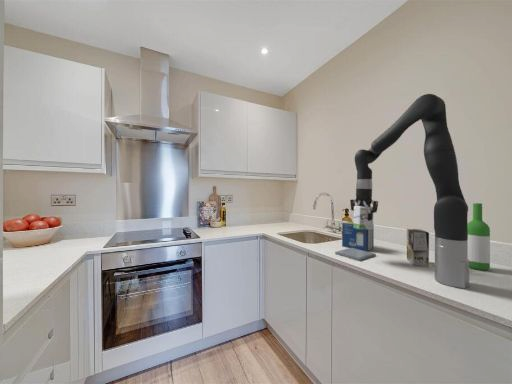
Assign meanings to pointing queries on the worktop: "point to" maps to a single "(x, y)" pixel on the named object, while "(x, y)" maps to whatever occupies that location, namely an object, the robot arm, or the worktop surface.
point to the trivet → (355, 254)
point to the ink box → (361, 218)
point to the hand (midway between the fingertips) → (363, 219)
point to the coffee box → (418, 247)
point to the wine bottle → (478, 241)
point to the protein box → (357, 237)
